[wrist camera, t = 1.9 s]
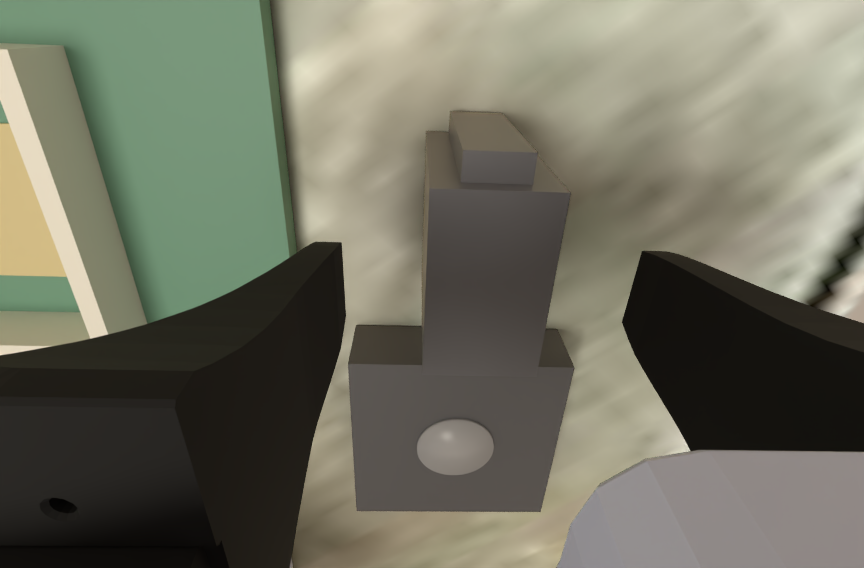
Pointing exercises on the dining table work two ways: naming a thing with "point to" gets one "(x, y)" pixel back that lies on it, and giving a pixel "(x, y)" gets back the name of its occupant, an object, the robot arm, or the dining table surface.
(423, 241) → the plug
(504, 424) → the grey flat block
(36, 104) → the board
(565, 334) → the dining table surface
